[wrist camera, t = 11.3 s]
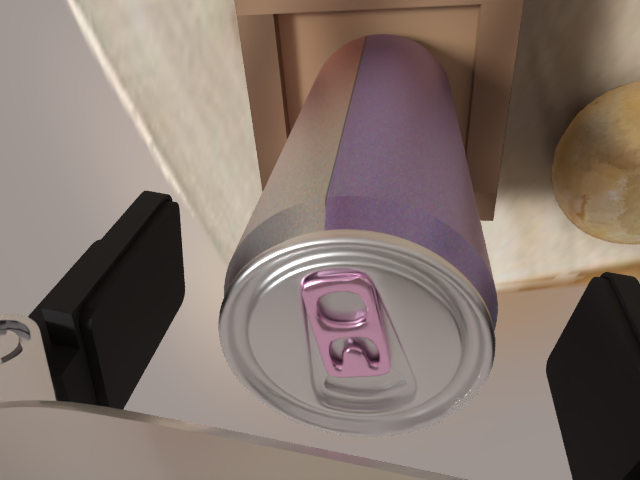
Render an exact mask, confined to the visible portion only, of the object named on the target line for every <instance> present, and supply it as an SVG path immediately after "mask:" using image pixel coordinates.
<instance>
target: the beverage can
mask: <svg viewBox="0 0 640 480" xmlns="http://www.w3.org/2000/svg"><path fill="white" fill-rule="evenodd" d="M497 314H498V301H497V293H496V289H495V284H494V280H493V275H492V271H491V267H490V262H489V258H488V253H487V249H486V244H485V240H484V235H483V231H482V226H481V222H480V217H479V213H478V209H477V204H476V200H475V195H474V191H473V186H472V182H471V177H470V173H469V168H468V164H467V159H466V155H465V150H464V146H463V142H462V137H461V133H460V128H459V124H458V119H457V115H456V110H455V106H454V101H453V97H452V92H451V88H450V84H449V81H448V78H447V75H446V73H445V71H444V69H443V67H442V66H441V64H440V63H439V61H438V60H437V59H436V58H435V57H434V55H433V54H432V53H431V52H429V51H428V50H427V49H426V48H425V47H423V46H422V45H420V44H418V43H417V42H415V41H413V40H410V39H408V38H405V37H402V36H398V35H392V34H374V35H368V36H364V37H360V38H358V39H355V40H353V41H351V42H349V43H347V44H345V45H344V46H342V47H341V48H339V49H338V50H337V51H335V52H334V53H333V54H332V55H331V56H330V57H329V58H328V59H327V61H326V62H325V63H324V65H323V66H322V68H321V69H320V71H319V73H318V75H317V77H316V79H315V82H314V84H313V86H312V88H311V90H310V92H309V94H308V96H307V99H306V101H305V103H304V105H303V107H302V109H301V111H300V114H299V116H298V118H297V120H296V122H295V124H294V126H293V129H292V131H291V133H290V135H289V137H288V139H287V141H286V143H285V146H284V148H283V150H282V152H281V154H280V156H279V158H278V161H277V163H276V165H275V167H274V169H273V171H272V173H271V175H270V178H269V180H268V182H267V184H266V186H265V188H264V190H263V193H262V195H261V197H260V199H259V201H258V203H257V205H256V208H255V210H254V212H253V214H252V216H251V218H250V220H249V222H248V225H247V227H246V229H245V231H244V233H243V235H242V237H241V240H240V242H239V244H238V246H237V248H236V250H235V252H234V255H233V257H232V259H231V261H230V263H229V266H228V269H227V273H226V277H225V285H224V299H223V302H222V305H221V309H220V315H219V337H220V343H221V347H222V350H223V353H224V356H225V358H226V361H227V362H228V364H229V367H230V368H231V370H232V371H233V373H234V375H235V376H236V377H237V379H238V380H239V381H240V382H241V383H242V385H243V386H244V387H245V388H246V389H247V390H248V391H249V392H250V393H251V394H252V395H253V396H254V397H256V398H257V399H258V400H259V401H261V402H262V403H263V404H265V405H266V406H268V407H269V408H271V409H272V410H274V411H275V412H277V413H279V414H281V415H283V416H284V417H287V418H288V419H291V420H293V421H295V422H297V423H300V424H303V425H305V426H308V427H311V428H314V429H318V430H321V431H325V432H330V433H335V434H340V435H347V436H360V437H382V436H393V435H400V434H405V433H410V432H414V431H418V430H421V429H424V428H427V427H430V426H432V425H435V424H437V423H440V422H442V421H444V420H446V419H447V418H449V417H451V416H453V415H454V414H456V413H457V412H459V411H460V410H461V409H462V408H463V407H465V406H466V405H467V404H468V403H469V402H471V400H472V399H473V398H474V397H475V396H476V395H477V394H478V392H479V391H480V390H481V388H482V387H483V385H484V383H485V382H486V380H487V378H488V376H489V374H490V371H491V368H492V366H493V361H494V356H495V334H494V331H495V327H496V322H497Z"/></svg>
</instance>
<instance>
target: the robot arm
mask: <svg viewBox="0 0 640 480" xmlns="http://www.w3.org/2000/svg"><path fill="white" fill-rule="evenodd" d="M182 254H183V253H182V239H181V224H180V211H179V205H178V203H177V202H173V201H172V198H171V196H170V195H168V194H162V193H156V192H151V191H144V192H142V193H141V194H140V196H139V197H138V198H137V199H136V200H135V201H134V202H133V204H132V205H131V206H130V207H129V208H128V209H127V210H126V212H125V213H124V214H123V215H122V216H121V217H120V219H119V220H118V221H117V222H116V223H115V224H114V225H113V226H112V228H111V229H110V230H109V231H108V232H107V233H106V234H105V236H104V237H103V238H102V239H101V240H97V241H96V242H94V243H93V244H92V245H91V246H90V247H89V248H88V250H87V251H86V252H85V253H84V254H83V255H82V256H81V258H80V259H79V260H78V261H77V262H76V263H75V264H74V265H73V267H72V268H71V269H70V270H69V271H68V272H67V273H66V274H65V276H64V277H63V278H62V279H61V280H60V281H59V283H57V285H56V286H55V287H54V288H53V289H52V290H51V291H50V293H49V294H48V295H47V296H46V297H45V298H44V299H43V300H42V301H41V303H40V304H39V305H38V306H37V307H36V308H35V309H34V311H33V312H32V313H31V314H30V315H29V316H28V317H25V316H22V315H18V314H4V315H0V480H467V479H463V478H458V477H453V476H449V475H444V474H439V473H435V472H430V471H425V470H420V469H415V468H411V467H406V466H401V465H396V464H391V463H387V462H382V461H377V460H372V459H367V458H363V457H358V456H353V455H347V454H343V453H338V452H334V451H329V450H324V449H319V448H314V447H309V446H304V445H299V444H295V443H290V442H285V441H280V440H275V439H270V438H265V437H260V436H255V435H250V434H245V433H240V432H235V431H230V430H225V429H220V428H216V427H210V426H205V425H201V424H195V423H191V422H186V421H181V420H175V419H170V418H164V417H159V416H154V415H148V414H143V413H138V412H132V411H127V410H123V409H124V407H125V405H126V403H127V402H128V400H129V398H130V396H131V394H132V393H133V391H134V389H135V387H136V385H137V384H138V382H139V380H140V378H141V376H142V375H143V373H144V371H145V369H146V367H147V366H148V364H149V362H150V360H151V358H152V356H153V355H154V353H155V351H156V349H157V348H158V346H159V344H160V342H161V340H162V339H163V337H164V335H165V333H166V331H167V330H168V328H169V326H170V324H171V322H172V321H173V319H174V317H175V315H176V313H177V312H178V310H179V308H180V306H181V304H182V302H183V299H184V295H185V282H184V267H183V255H182ZM546 373H547V378H548V382H549V386H550V390H551V394H552V398H553V402H554V406H555V410H556V414H557V418H558V422H559V426H560V430H561V434H562V438H563V442H564V446H565V450H566V454H567V458H568V462H569V466H570V470H571V474H572V478H573V480H640V283H639V282H638V280H637V279H636V278H635V277H633V276H627V275H621V274H616V273H610V272H605V273H603V274H602V275H601V276H600V277H594V278H593V279H592V280H591V281H590V283H589V284H588V286H587V288H586V290H585V292H584V294H583V296H582V297H581V299H580V301H579V303H578V305H577V306H576V308H575V310H574V312H573V314H572V316H571V317H570V319H569V321H568V323H567V325H566V327H565V329H564V330H563V332H562V334H561V336H560V338H559V339H558V341H557V344H556V345H555V347H554V349H553V351H552V352H551V354H550V356H549V358H548V361H547V365H546Z"/></svg>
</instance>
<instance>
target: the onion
mask: <svg viewBox="0 0 640 480" xmlns="http://www.w3.org/2000/svg"><path fill="white" fill-rule="evenodd" d="M586 129H587V131H586ZM552 186H553V190H554V194H555V197H556V199H557V202H558V204H559V206H560V208H561V210H562V211H563V213H564V214H565V215H566V217H567V218H568V219H569V220H570V221H571V222H572V223H573V224H574V225H575V226H576V227H578V228H579V229H580V230H582V231H583V232H585V233H587V234H589V235H591V236H593V237H596V238H598V239H601V240H604V241H608V242H612V243H619V244H640V81H636V82H632V83H628V84H626V85H623V86H620V87H617V88H615V89H612V90H610V91H608V92H606V93H605V94H603V95H601V96H599V97H597V98H596V99H595V100H593V101H592V102H590V103H589V104H588V105H587V106H586V107H585V108H584V109H583V110H581V111H580V112H579V113H578V114H577V115H576V116H575V118H574V119H573V120H572V121H571V123H570V124H569V126H568V128H567V129H566V131H565V133H564V134H563V136H562V138H561V140H560V141H559V142H558V145H557V147H556V150H555V154H554V162H553V166H552Z"/></svg>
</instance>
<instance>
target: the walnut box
mask: <svg viewBox="0 0 640 480" xmlns="http://www.w3.org/2000/svg"><path fill="white" fill-rule="evenodd" d="M523 3H524V0H235V7H236V14H237V21H238V27H239V34H240V41H241V48H242V55H243V61H244V68H245V75H246V82H247V89H248V95H249V102H250V109H251V116H252V123H253V130H254V136H255V143H256V150H257V157H258V164H259V170H260V177H261V184H262V191H263V190H264V188H265V186H266V184H267V182H268V180H269V178H270V175H271V173H272V171H273V169H274V167H275V165H276V163H277V161H278V158H279V156H280V154H281V152H282V150H283V148H284V146H285V143H286V141H287V139H288V137H289V135H290V133H291V131H292V129H293V126H294V124H295V122H296V120H297V118H298V116H299V114H300V111H301V109H302V107H303V105H304V103H305V101H306V99H307V96H308V94H309V92H310V90H311V88H312V86H313V84H314V82H315V79H316V77H317V75H318V73H319V71H320V69H321V68H322V66H323V65H324V63H325V62H326V61H327V59H328V58H329V57H330V56H331V55H332V54H333V53H334V52H335V51H337V50H338V49H339V48H341V47H342V46H344V45H345V44H347V43H349V42H351V41H353V40H355V39H358V38H360V37H364V36H368V35H374V34H392V35H398V36H402V37H405V38H408V39H410V40H413V41H415V42H417V43H418V44H420V45H422V46H423V47H425V48H426V49H427V50H428V51H429V52H431V53H432V54H433V55H434V57H435V58H436V59H437V60H438V61H439V63H440V64H441V66H442V67H443V69H444V71H445V73H446V75H447V78H448V81H449V84H450V88H451V92H452V97H453V101H454V106H455V110H456V115H457V119H458V124H459V128H460V133H461V137H462V142H463V146H464V150H465V155H466V159H467V164H468V168H469V173H470V177H471V182H472V186H473V191H474V195H475V200H476V204H477V209H478V213H479V217H480V220H483V221H493V218H494V211H495V204H496V196H497V189H498V182H499V175H500V168H501V161H502V154H503V146H504V139H505V132H506V125H507V118H508V111H509V103H510V96H511V89H512V82H513V75H514V68H515V61H516V53H517V46H518V39H519V32H520V25H521V18H522V11H523Z"/></svg>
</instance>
